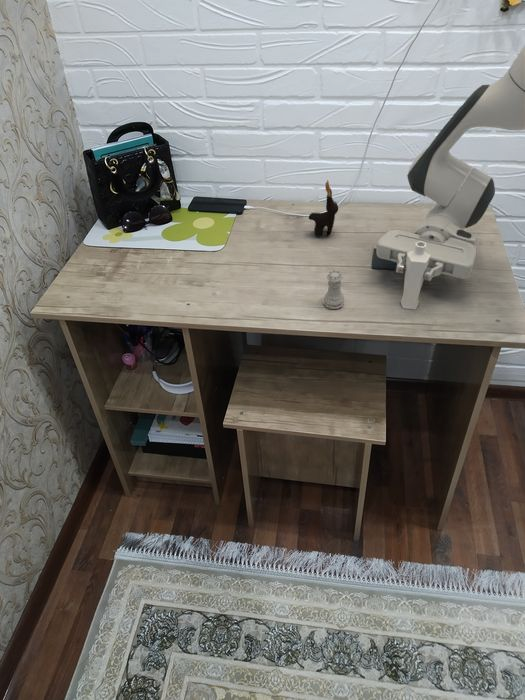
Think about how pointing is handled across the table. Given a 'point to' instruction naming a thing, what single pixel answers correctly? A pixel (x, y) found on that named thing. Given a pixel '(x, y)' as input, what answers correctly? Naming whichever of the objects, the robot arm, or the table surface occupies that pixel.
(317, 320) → the table surface
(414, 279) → the perfume bottle
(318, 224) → the figurine
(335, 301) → the rook chess piece
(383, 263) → the mat
